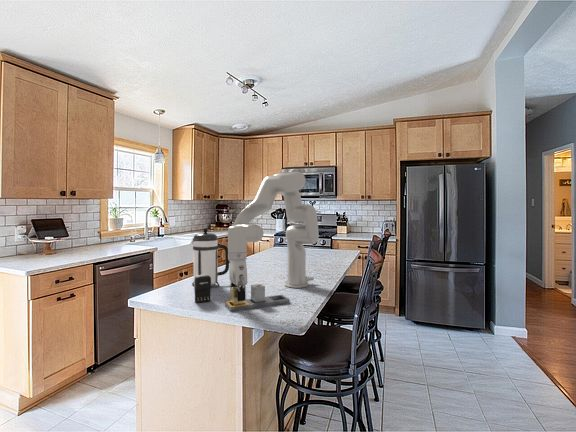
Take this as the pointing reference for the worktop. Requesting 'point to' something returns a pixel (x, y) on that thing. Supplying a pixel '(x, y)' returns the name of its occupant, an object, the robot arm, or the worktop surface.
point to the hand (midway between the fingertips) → (237, 297)
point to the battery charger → (202, 288)
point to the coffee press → (207, 256)
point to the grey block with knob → (257, 293)
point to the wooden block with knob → (234, 297)
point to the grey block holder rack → (249, 305)
